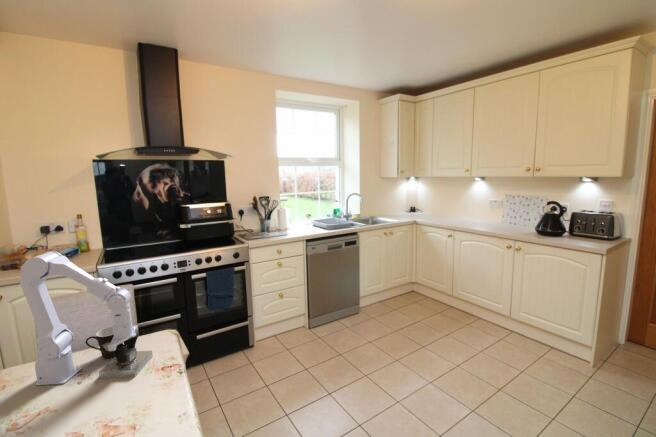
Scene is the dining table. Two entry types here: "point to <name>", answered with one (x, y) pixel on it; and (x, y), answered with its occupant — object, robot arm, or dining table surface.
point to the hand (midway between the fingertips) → (126, 358)
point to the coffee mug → (104, 342)
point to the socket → (125, 366)
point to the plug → (130, 355)
